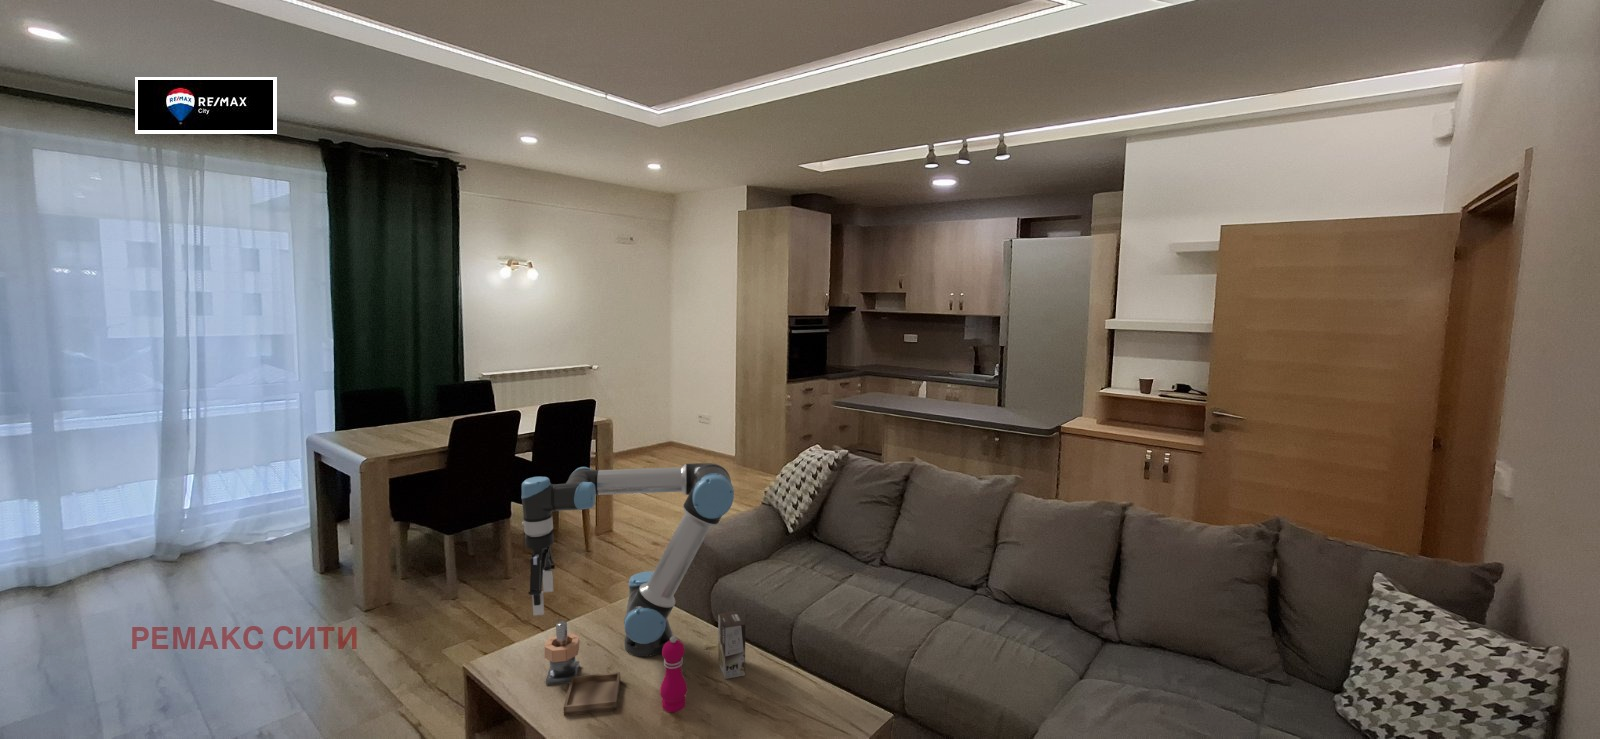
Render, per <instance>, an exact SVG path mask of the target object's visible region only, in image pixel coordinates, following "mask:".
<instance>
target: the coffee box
mask: <svg viewBox="0 0 1600 739" xmlns="http://www.w3.org/2000/svg"><path fill="white" fill-rule="evenodd" d="M717 615H718V618H717V619H718V620H717V621H718V622H717V623H718V624H717V625H718V626H717V627H718V628H717V629H718V632H717V633H718V637H717V638H718V639H717V640H718V644H717V646H718V665H719V668H720V671H721V673H722V674H723V678H724V679H725V680H727V679H733V678H739V677H742V676H743V677H744V676H745V675H746V622H745V621H744V619H743V616H742V615H741V614H740V611H739V610H731V611H726V612H722V613H721V612H720V613H718V614H717Z"/></svg>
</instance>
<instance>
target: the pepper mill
mask: <svg viewBox="0 0 1600 739" xmlns="http://www.w3.org/2000/svg"><path fill="white" fill-rule="evenodd" d="M685 650H686V649H685V645H684V644H683V642H682V641H680V640H678V639H677V637H676V636H675V635H673V636H672V637H671V638H670V641H668V642H666V643H665V645H664V646H663V649H662V653H661V654H662V658H663V666H664V667H665V673H664V678H663V680H662V682H661V685H660V690H659V694H660V697H661V698H662V699H661V707H662V708H663V710H664V711H665V712H667V713H675V712H679V711H681V710H682V709H684V708H685V706H686V695H687V692H688V687H687V686H688V685H687V681H686V679H685V677H684V676H683V672H682V665H683V663H684V661H683V659H684V658H683V656H684V654H685Z"/></svg>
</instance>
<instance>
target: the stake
mask: <svg viewBox="0 0 1600 739" xmlns="http://www.w3.org/2000/svg"><path fill="white" fill-rule="evenodd" d="M555 633H556V634H555V635H556V641H557V647H564V646H566V645H568V641H567V633H568V622H567V621H565V620H561V621H558V622H557V623H555ZM579 670H580V661H576V656H575V657H573V658H571V659H569V660H567V661H561V662H551V661H550V660H549V669H548V672H547V675H546V677H545V685H547V686H548V685H556V684H570V681H571V678H572V677H575V676H578V672H579Z"/></svg>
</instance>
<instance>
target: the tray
mask: <svg viewBox="0 0 1600 739" xmlns="http://www.w3.org/2000/svg"><path fill="white" fill-rule="evenodd" d="M620 684H621V672H619V671H618V672H608V673H607V672H606V673H597V674H588V675H586V674H585V675H577V676H575V677H572V678H571V681H570V682H569V686H568V689H567V693H566V698H565V701H564V703H563V716H575V715H582V714H584V715H585V714H593V713H594V714H595V713H602V712H604V713H605V712H612V711H617V707H618V699H619V692H620V686H621V685H620Z"/></svg>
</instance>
